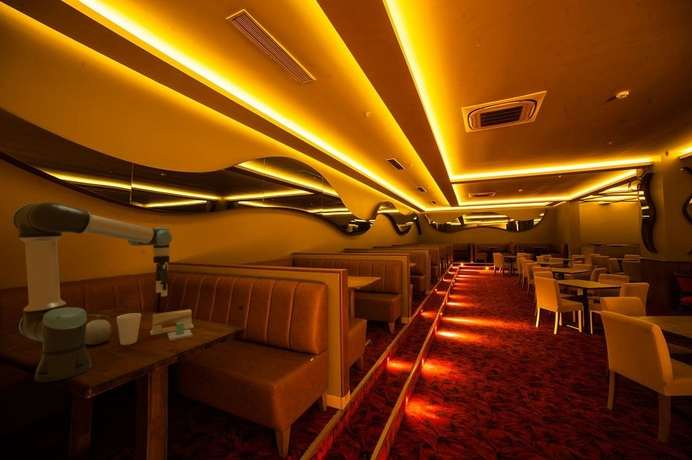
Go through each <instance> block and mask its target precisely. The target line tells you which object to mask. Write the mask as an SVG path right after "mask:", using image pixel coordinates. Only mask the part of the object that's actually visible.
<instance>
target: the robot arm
mask: <svg viewBox="0 0 692 460" xmlns="http://www.w3.org/2000/svg"><path fill="white" fill-rule="evenodd" d="M11 221H12V225H13V226H14V227H15V228H16V229H17V231H18V239H19V240H20V241H23V242H24V246H25V260H26V261H25V262H26V278H27V291H28V293H27V294H28V305H26V306H25V307H24V308H23V311H22V312H23V317H22V318H21V319H20V321H19V324H18V330H19V332H20V333H21V334H22V335H23V336H24V337H25V338H27V339H30V340H32V341H38V342H42V355H41V359H40V361H39V364H38V366H37V367H36V370H35V372H34V381H35V382H38V383H51V382H57V381H62V380H66V379H70V378H73V377H75V376H79V375H81V374H83V373H85V372H87V371H88V370H89V369H91V368H92V359H91V356H90V354H89V352H88V350H87V345H86V344H87V343H86V325H87V320H88V319H87V318H88V316H87V312H86V310H85V309H84V308H81V307H75V306H74V307H70V306H69V307H67V302H66V301H65V300H62V299H61V287H60V273H59V272H60V271H59V269H60V268H59V256H58V255H59V254H58V253H59V252H58V241H59V240H60V239H61V238H63V233H72V234H79V235H82V234H83V233H84V234H85V233H87V234H92V235H98V236H99V235H100V236H104V237H108V238H109V237H110V238H114V239H120V240H121V239H122V240H127V242H128V244H129V245H130V246H137V247H140V246H152V255H153V258H152V259H153V261H152V263H154V264H155V265H156V267H155V268H156V269H155V276H154V277H155V293H157V294H158V293H160V297H167V296H168V283H169V278H168V276H169V275H168V266H167V264H166V263H169V262H170V257H171V256H170V251H171V248H170V244H171V242H172V240H173V235H172V233H171V232H170V228H168V227H154V228H150V227H146V226H142V225H137V224H134V223H129V222H126V221H120V220H118V219H117V220H116V219H113V218H108V217H104V216H100V215H95V214H91V212H90V211H88V210H86V209H81V208H79V207H78V208H77V207H75V206H69V205H66V204H63V203H59V202H54V201H46V202H36V203H29V204H26V205H25V204H24V205H23V206H21V207H19V208H18V209H16V210H15V211H14V213H13V215H12V218H11ZM50 381H51V382H50Z"/></svg>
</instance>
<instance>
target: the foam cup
mask: <svg viewBox="0 0 692 460" xmlns="http://www.w3.org/2000/svg"><path fill="white" fill-rule="evenodd" d="M141 320H142V313H140V312H139V313H138V312H137V313H136V312H134V313H133V312H131V313H125V314H121V315H118V316H117V317H116V323H117V329H118V336H119V343H120V345H121V346H128V345H132V344H135V343H137V341H138V336H139V329H140V323H141Z"/></svg>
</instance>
